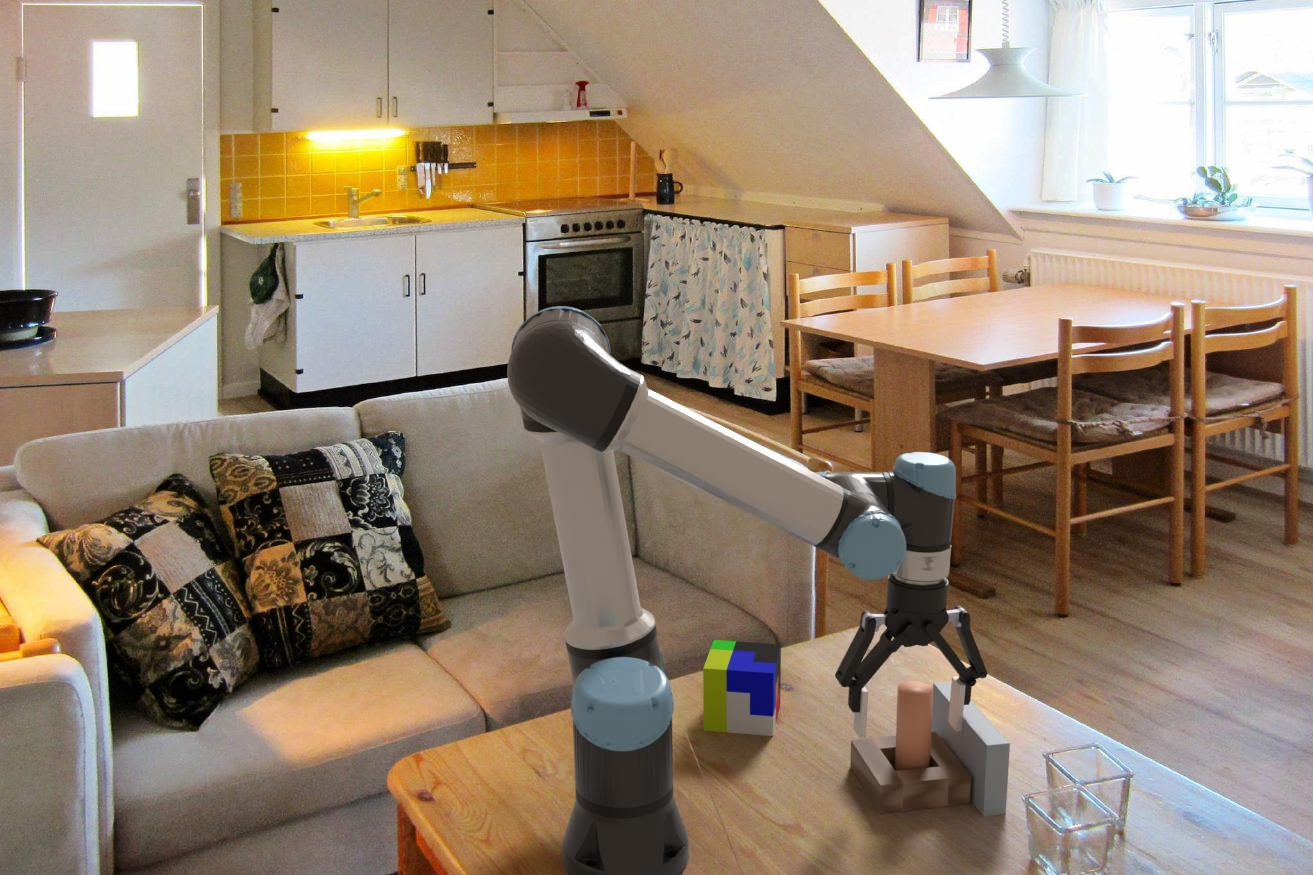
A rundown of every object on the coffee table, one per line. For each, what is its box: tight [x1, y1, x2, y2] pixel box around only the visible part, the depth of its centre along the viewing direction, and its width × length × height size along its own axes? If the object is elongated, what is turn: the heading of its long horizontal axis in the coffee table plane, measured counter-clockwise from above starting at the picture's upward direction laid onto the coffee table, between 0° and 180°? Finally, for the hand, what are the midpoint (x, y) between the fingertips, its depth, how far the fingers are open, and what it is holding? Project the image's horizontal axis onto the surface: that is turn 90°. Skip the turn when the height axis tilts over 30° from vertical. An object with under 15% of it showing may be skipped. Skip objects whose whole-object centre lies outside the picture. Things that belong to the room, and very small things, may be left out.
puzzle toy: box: [702, 639, 782, 737], centre depth 188 cm, size 10×10×10 cm
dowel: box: [895, 680, 933, 771], centre depth 168 cm, size 4×4×14 cm
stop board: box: [931, 680, 1011, 817], centre depth 170 cm, size 3×18×10 cm, turn 9°
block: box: [849, 732, 971, 815], centre depth 169 cm, size 12×12×4 cm
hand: (907, 730), depth 168 cm, fingers open, 12 cm apart
